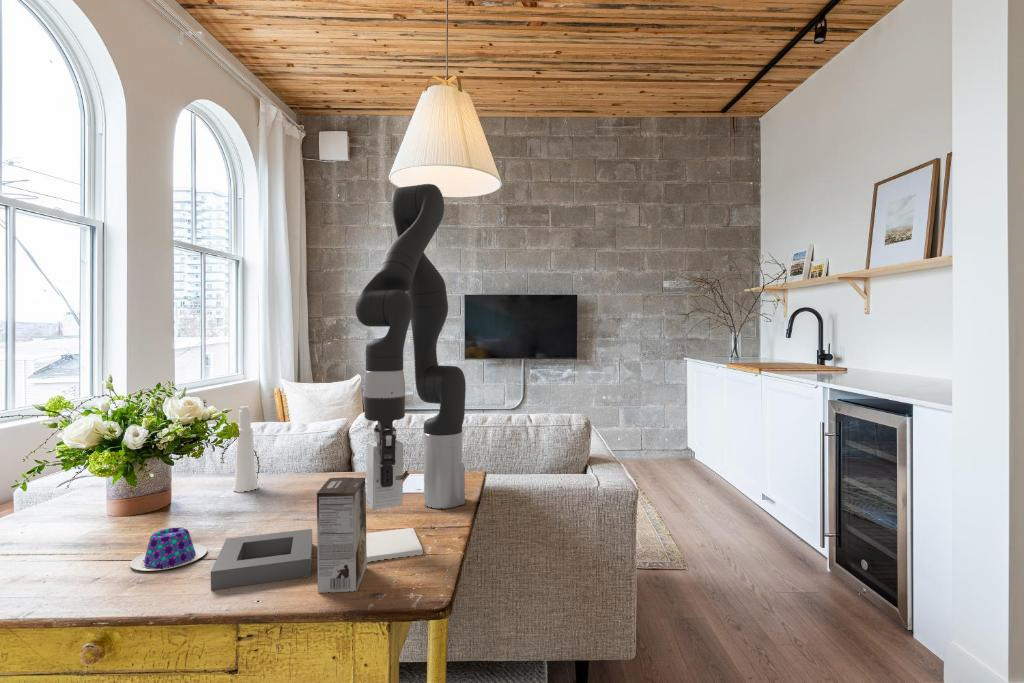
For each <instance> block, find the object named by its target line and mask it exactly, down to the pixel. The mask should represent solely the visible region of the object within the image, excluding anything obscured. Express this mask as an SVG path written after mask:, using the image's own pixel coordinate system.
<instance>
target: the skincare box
mask: <svg viewBox="0 0 1024 683" xmlns="http://www.w3.org/2000/svg"><path fill="white" fill-rule="evenodd" d="M380 449H381V445H380ZM384 459H390V454H385V455H384ZM395 460H396V463H395V465H394V466H393V485H392V486H391V487H382V486H381V467H380V465H379V463H380V455H379V454H378V453H377V442H375V441H368V442H366V484H365V486H366V506H368V508H369V509H370V510H372V511H376V510H382V509H389V508H396V507H401V506H403V504H404V503H403V497H404V496H403V495H404V494H403V492H404V490H403V488H404V443H403V442H402V441H399V440H397V439H396V452H395Z"/></svg>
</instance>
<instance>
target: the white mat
mask: <svg viewBox="0 0 1024 683" xmlns="http://www.w3.org/2000/svg"><path fill="white" fill-rule="evenodd" d="M366 548H367V563H371V561H374V562H378V561H377V560H381V561H385V560H384V559H388V560H393V559H392V558H395V559H399V558H398V557H403V558H408V557H407V556H410V557H415V555H417V556H423V555H424V549H423V547H422V544H421V542H420V540H419V538H418V536H417V534H416V532H415V530H414V527H407V528H400V529H392V530H391V529H390V530H383V531H382V530H381V531H375V532H366ZM422 554H423V555H422Z"/></svg>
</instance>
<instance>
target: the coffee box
mask: <svg viewBox="0 0 1024 683" xmlns="http://www.w3.org/2000/svg"><path fill="white" fill-rule="evenodd" d="M316 527H317V528H316V531H317V532H316V534H317V536H316V538H317V542H316V543H317V545H316V546H317V549H316V550H317V554H316V556H317V560H316V561H317V593H318V594H322V593H323V594H324V593H325V594H326V593H328V592H330V593H350V592H351V593H352V592H353V593H354V591H355V592H358V590H359V586H361V585H360V584H361V583H362V580H363V577H364V575H365V574H366V573H365V572H366V570H367V568H368V562H367V548H366V533H367V504H366V477H350V476H349V477H345V476H344V477H343V476H342V477H330V478H328V479H327V481H325V483H324V484H323V485H322V486H321V488H320V489H319V490H318V491H317V492H316ZM349 591H350V592H349Z"/></svg>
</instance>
